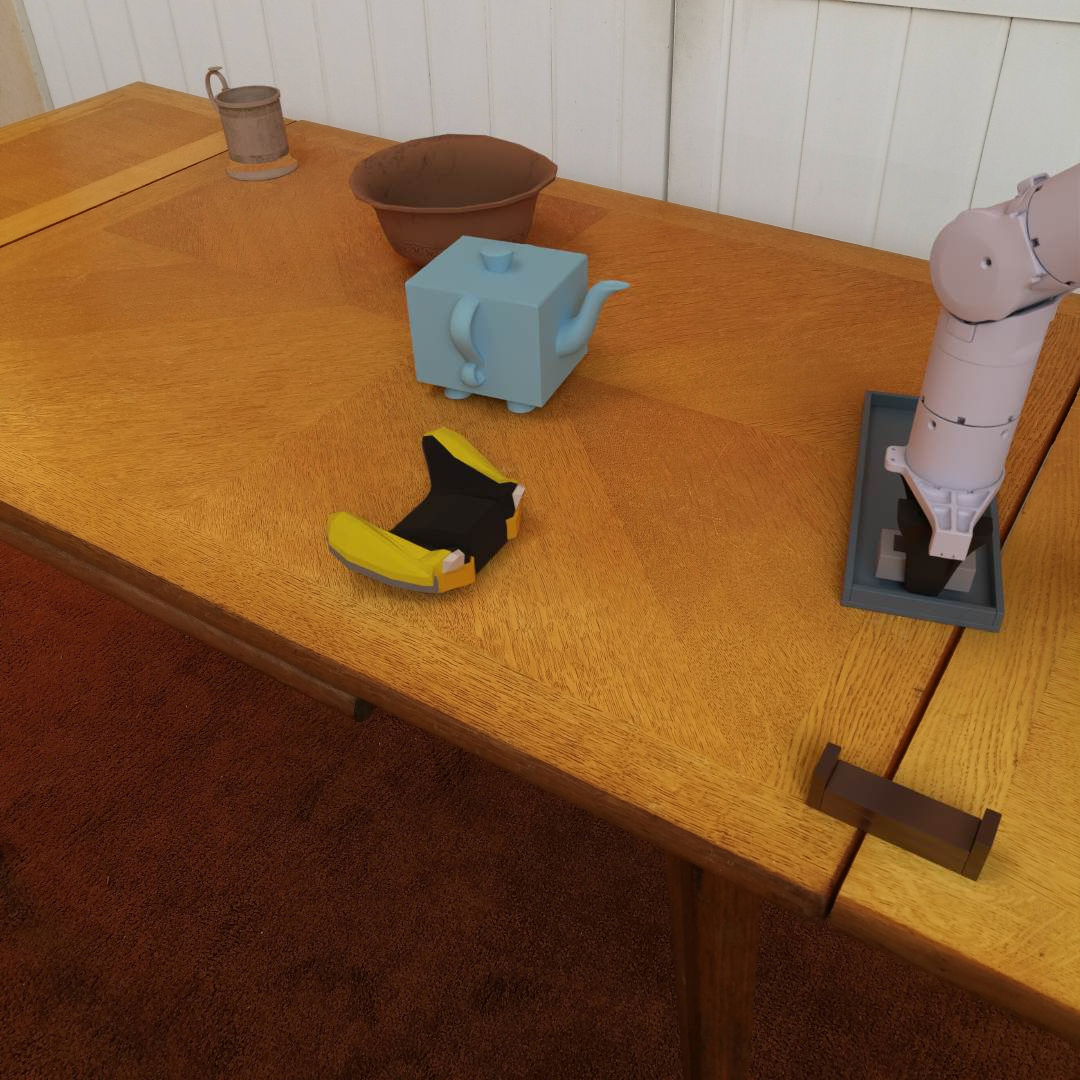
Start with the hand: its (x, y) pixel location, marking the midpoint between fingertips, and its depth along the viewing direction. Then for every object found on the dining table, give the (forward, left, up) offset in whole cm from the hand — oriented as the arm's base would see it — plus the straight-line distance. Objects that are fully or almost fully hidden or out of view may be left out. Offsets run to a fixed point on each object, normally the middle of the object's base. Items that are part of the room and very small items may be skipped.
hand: (922, 573), depth 68 cm
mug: (+90, -66, -1) cm, 112 cm away
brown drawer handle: (+1, +20, -1) cm, 20 cm away
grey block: (0, 0, 0) cm, 0 cm away
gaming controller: (+34, +4, -1) cm, 34 cm away
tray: (0, -10, -1) cm, 10 cm away
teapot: (+34, -19, -1) cm, 39 cm away
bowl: (+49, -42, -1) cm, 65 cm away
